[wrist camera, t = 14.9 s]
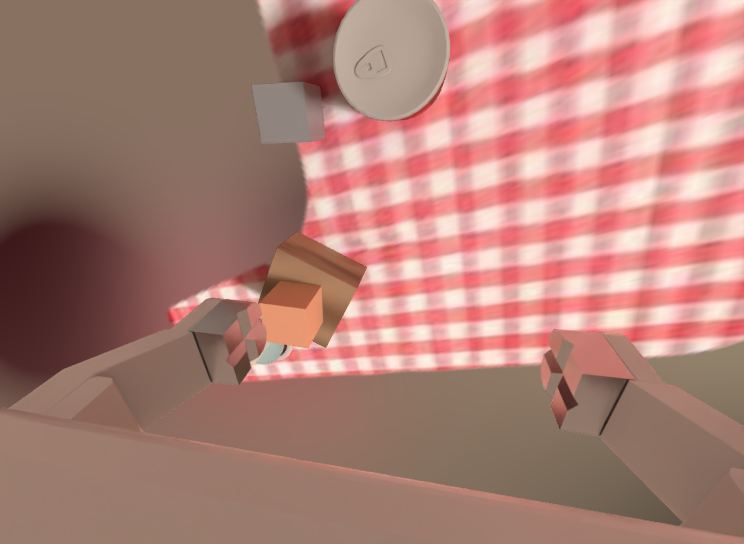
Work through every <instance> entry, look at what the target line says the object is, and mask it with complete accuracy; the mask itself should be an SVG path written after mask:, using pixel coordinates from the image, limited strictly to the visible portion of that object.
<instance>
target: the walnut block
mask: <svg viewBox="0 0 744 544" xmlns="http://www.w3.org/2000/svg"><path fill="white" fill-rule="evenodd" d="M366 268H367V267H366V266H364V265H362V264H360V263H358V262H356V261H354V260H352V259H350V258H348V257H346V256H344V255H342V254H340V253H338V252H336V251H334V250H332V249H330V248H328V247H326V246H324V245H322V244H321V243H319V242H317V241H315V240H313V239H311V238H309V237H307V236H305V235H303V234H302V233H301V232H299V231H297V232H296V233H295V234H293V235H292V236H291V237H290V238H288V240H286V241H285V242H284V243H282V244H281V245H280V246H279V247H278V248H277V249H276V252H275V255H274V258H273V261H272V263H271V266H270V269H269V272H268V275H267V278H266V281H265V284H264V287H263V290H262V293H261V296H260V299H259V302H258V304H259V303H260V302H261V301H262V300H263V299H264V298H265V297H266V296H267V294H268V293H269V292H270V291H271V290H272V289H273V288H274V287H275V286H276V285H277V284H278V283H279V282H280V281H287V282H295V283H303V284H311V285H319V286H322V308H323V323H322V325H321V326H320V328H319V330H318V332H317V334H316V335H315V337H314V339H313V342H315V343H317V344H319V345H321V346H323V347H325V348H326V347H327V345H328V343H329V341H330V339H331V337H332V335H333V333H334V332H335V330H336V328H337V326H338V324H339V322H340V320H341V318H342V316H343V314H344V313H345V311H346V309H347V307H348V305H349V303H350V301H351V299H352V297H353V295H354V294H355V292H356V290H357V288H358V286H359V283H360V281H361V279H362V277H363V275H364V272H365V270H366ZM259 305H260V304H259Z"/></svg>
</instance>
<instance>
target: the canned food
mask: <svg viewBox="0 0 744 544" xmlns="http://www.w3.org/2000/svg"><path fill="white" fill-rule="evenodd" d="M449 58H450V39H449V32H448V28H447V25H446V22H445V19H444V17H443V14H442V13H441V11H440V9H439V8H438V6H437V5H436V3H435V2H434V1H433V0H357V1H356V2H355V3H354V4H353V5H352V6H351V7H350V8H349V10H348V11H347V13H346V14H345V16H344V18H343V19H342V21H341V23H340V26H339V28H338V31H337V33H336V38H335V42H334V47H333V66H334V74H335V77H336V81H337V84H338V86H339V88H340V90H341V92H342V94H343V96H344V97H345V98H346V100H347V101H348V103H349V104H350V105H351V106H353V107H354V108H355V109H356V110H357V111H358V112H360V113H362V114H363V115H365V116H367V117H369V118H372V119H375V120H381V121H397V120H406V119H410V118H414V117H416V116H418V115H420V114H422V113H423V112H424V111H426V110H427V109H428V108H429V107H430V106H431V105H432V104H433V103H434V101H435V100H436V99H437V97H438V95H439V93H440V91H441V89H442V86H443V84H444V80H445V77H446V73H447V69H448V64H449Z"/></svg>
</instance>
